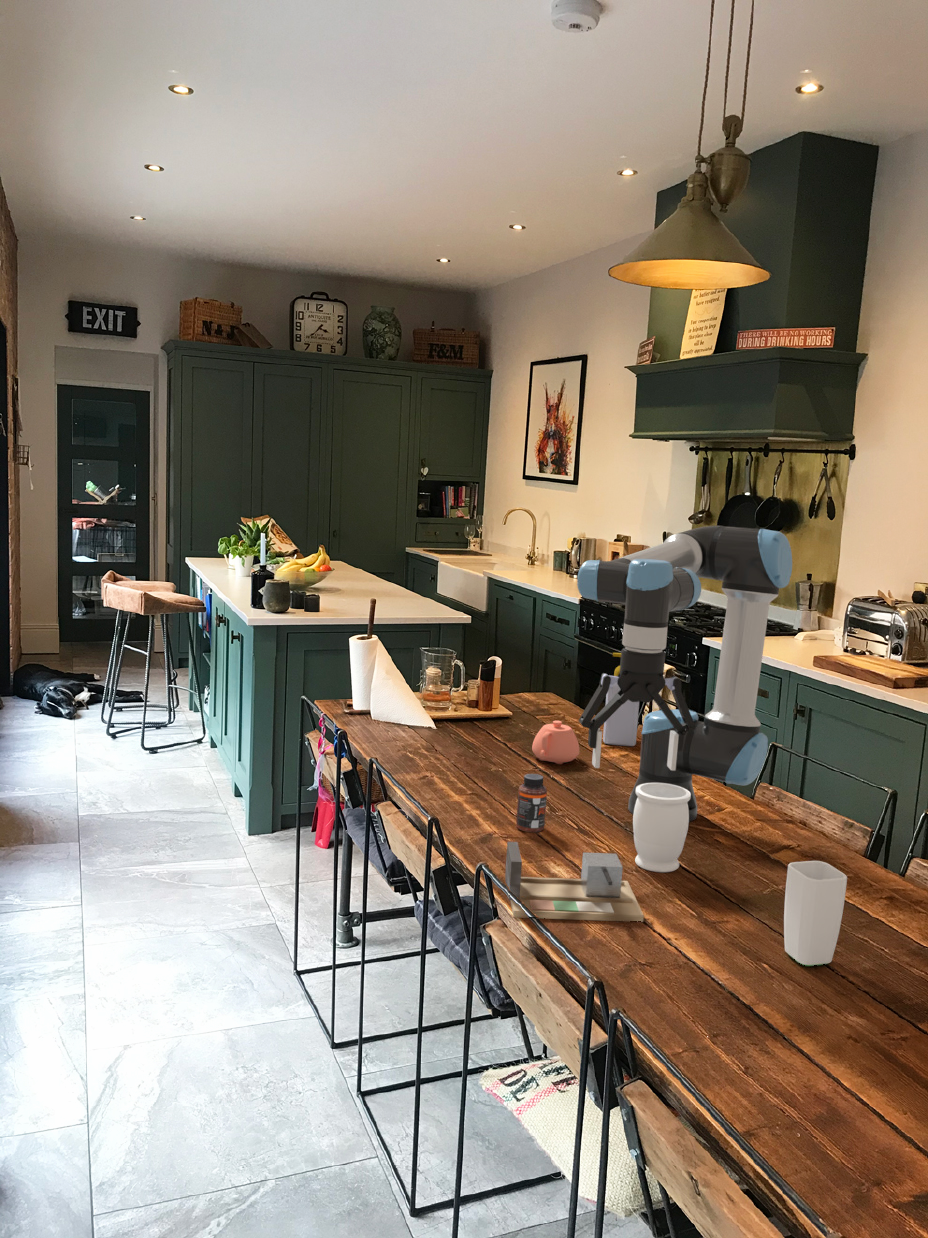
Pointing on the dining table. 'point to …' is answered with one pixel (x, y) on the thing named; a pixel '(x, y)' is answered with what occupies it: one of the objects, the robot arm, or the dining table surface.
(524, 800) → the supplement bottle
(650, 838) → the jar
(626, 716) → the soap bottle
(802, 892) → the cup
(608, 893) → the block
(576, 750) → the sugar bowl
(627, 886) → the gauge board
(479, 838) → the dining table surface
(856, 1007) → the dining table surface
